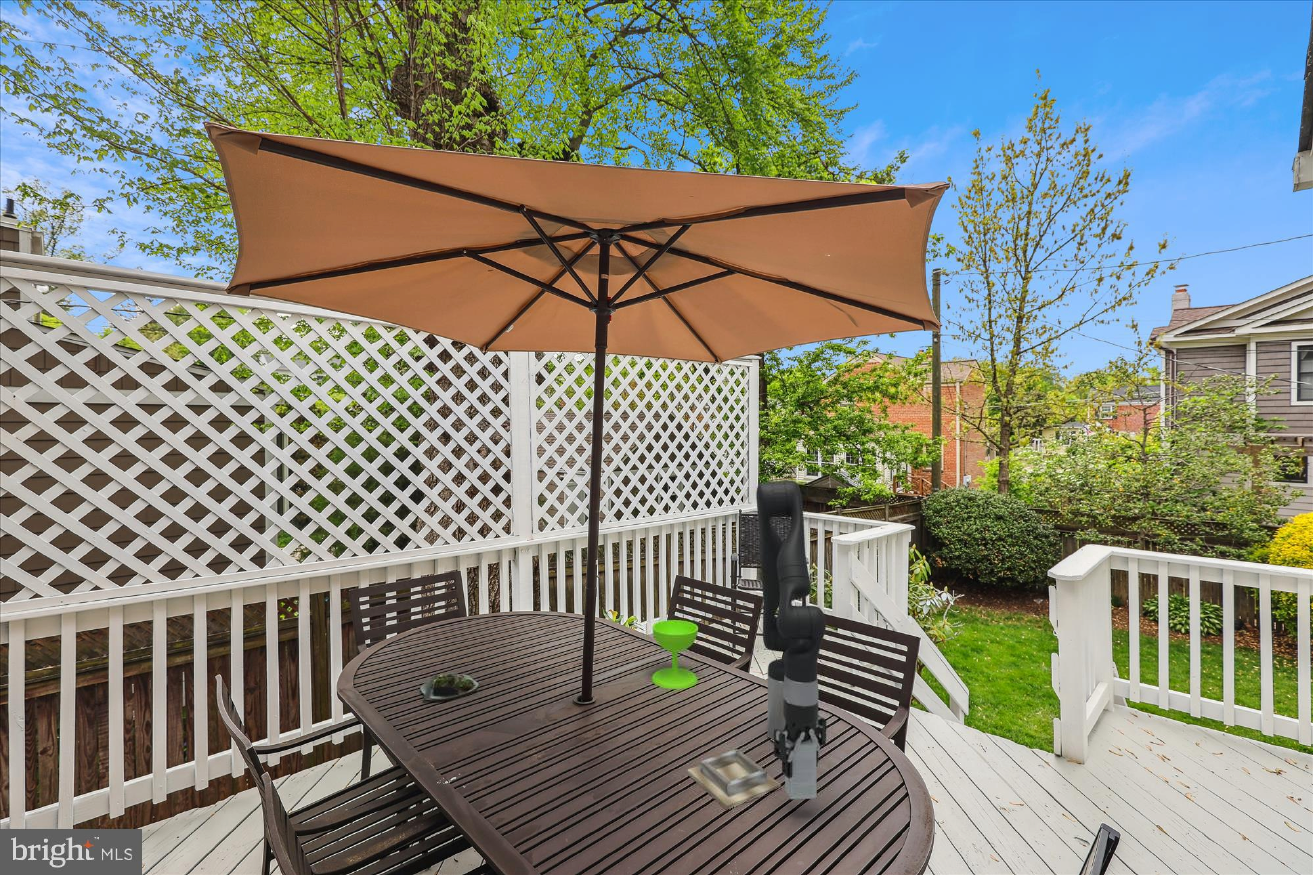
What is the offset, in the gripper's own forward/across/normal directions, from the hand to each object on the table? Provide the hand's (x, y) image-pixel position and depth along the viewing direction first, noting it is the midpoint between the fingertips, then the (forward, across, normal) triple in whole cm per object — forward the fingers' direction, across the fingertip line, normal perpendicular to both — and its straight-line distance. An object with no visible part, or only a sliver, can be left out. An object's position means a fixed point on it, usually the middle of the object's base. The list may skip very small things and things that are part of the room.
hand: (800, 770), depth 123 cm
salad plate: (+11, +56, -102) cm, 117 cm away
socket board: (+10, +5, -17) cm, 20 cm away
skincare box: (+5, 0, 0) cm, 5 cm away
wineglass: (+11, -14, -74) cm, 76 cm away
